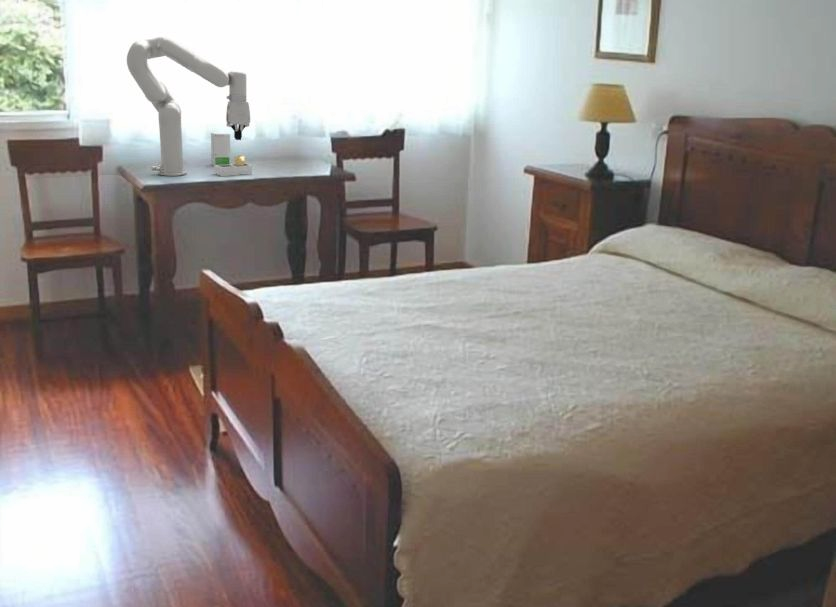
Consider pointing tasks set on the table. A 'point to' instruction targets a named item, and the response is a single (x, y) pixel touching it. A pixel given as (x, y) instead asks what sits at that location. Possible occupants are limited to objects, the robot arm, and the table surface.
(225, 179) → the table surface
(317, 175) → the table surface
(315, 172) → the table surface
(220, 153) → the skincare box
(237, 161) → the brass bushing
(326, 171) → the table surface
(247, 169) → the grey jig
